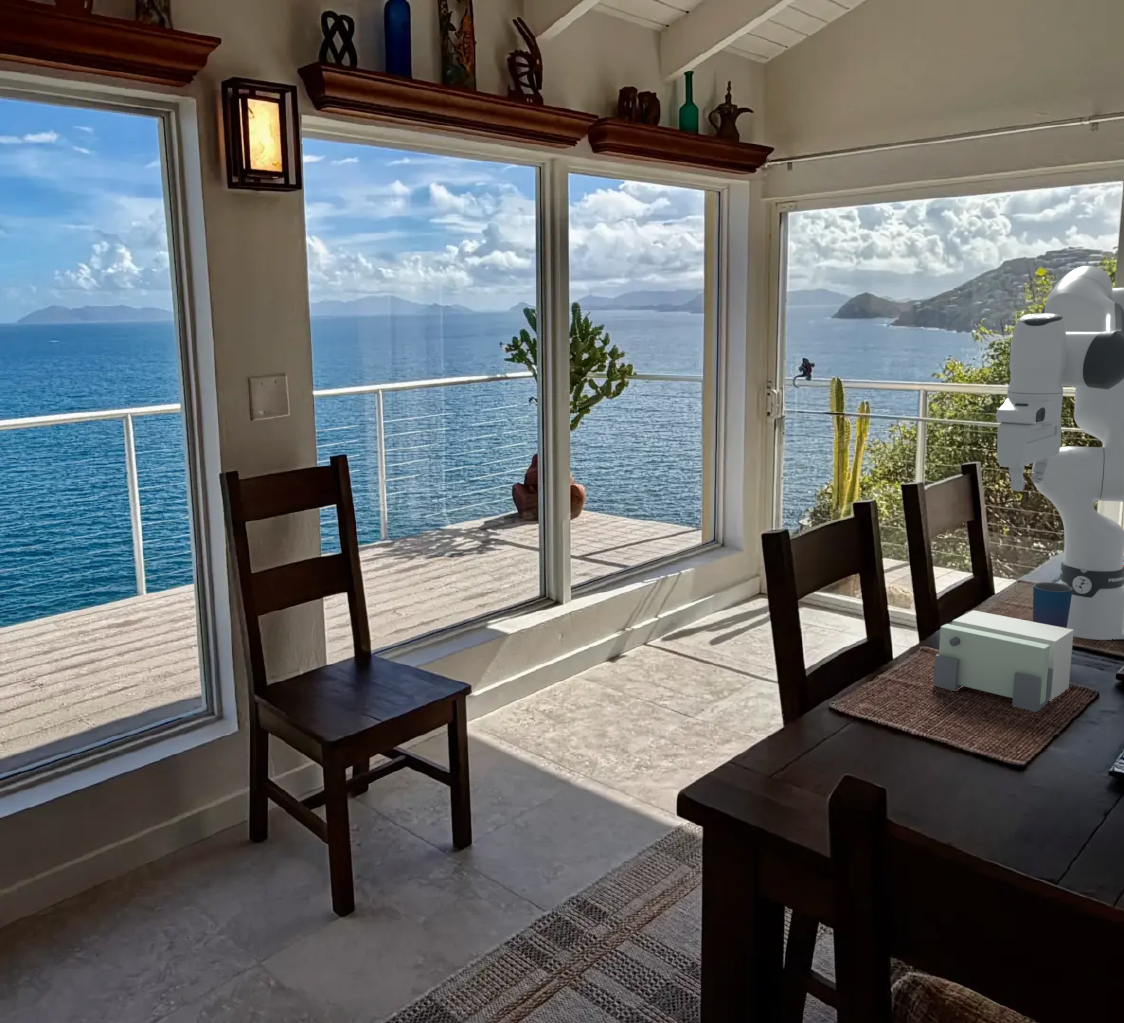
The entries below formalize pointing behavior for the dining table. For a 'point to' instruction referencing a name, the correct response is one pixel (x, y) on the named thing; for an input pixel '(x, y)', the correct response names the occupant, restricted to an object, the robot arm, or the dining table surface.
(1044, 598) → the cup
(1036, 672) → the door
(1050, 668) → the cabinet
